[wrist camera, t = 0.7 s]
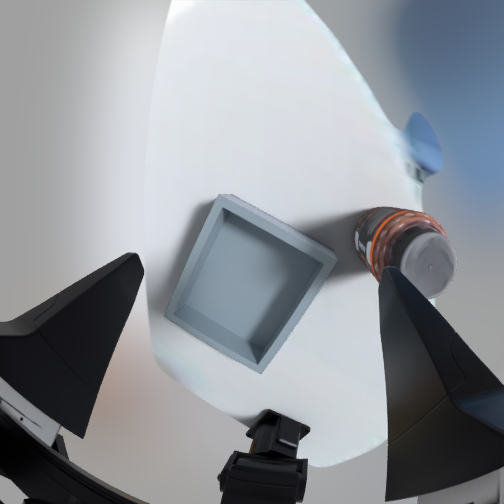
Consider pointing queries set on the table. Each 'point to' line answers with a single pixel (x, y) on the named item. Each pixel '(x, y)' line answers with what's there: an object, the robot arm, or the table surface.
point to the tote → (248, 282)
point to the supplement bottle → (407, 247)
